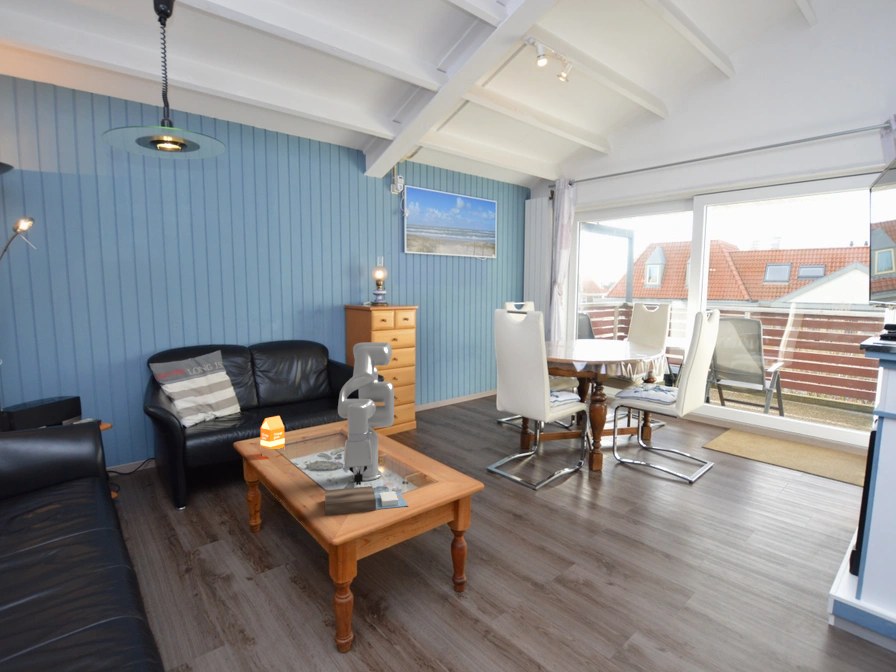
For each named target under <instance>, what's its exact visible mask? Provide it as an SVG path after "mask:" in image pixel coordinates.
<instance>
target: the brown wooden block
mask: <svg viewBox="0 0 896 672" xmlns="http://www.w3.org/2000/svg"><path fill="white" fill-rule="evenodd" d="M324 491H325V492H324V515H325V516H331V515H340V514H341V515H342V514H350V513H353V514H354V513H360V512H369V511H370V512H371V511H376V498H375V495H376V494H375V491H374V488H373V486H372V485H368V486H356V487H346V488H345V487H344V488H336V489H335V488H334V489H325V490H324Z"/></svg>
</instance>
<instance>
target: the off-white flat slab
mask: <svg viewBox="0 0 896 672" xmlns="http://www.w3.org/2000/svg"><path fill="white" fill-rule="evenodd" d="M396 493H397V492H396V491H393V490H392V491H383V492H379V494H380V500H381V504H382V507H383V506H394V505H398V498H397V495H396Z"/></svg>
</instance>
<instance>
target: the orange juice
mask: <svg viewBox="0 0 896 672" xmlns="http://www.w3.org/2000/svg"><path fill="white" fill-rule="evenodd" d="M285 441H286V439H285V425H284V424H283V420H282V419H281V416H280V415H274V416H271V417H266V418H264V420H263V422H262V425H261V426H260V447H261V446H262V447H265V448H268V449H280V448H283V447H284V448H285Z"/></svg>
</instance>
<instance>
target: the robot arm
mask: <svg viewBox="0 0 896 672" xmlns="http://www.w3.org/2000/svg"><path fill="white" fill-rule="evenodd" d="M392 349H393V348H392V345H391V343H389V342H384V341H382V342H374V341H373V342H372V341H371V342H368V341H367V342H366V341H365V342H364V341H363V342H358V343H355V344H354V345H353V348H352V355H353V358H354V363H353V373H352V377H350V378H349V380H348V381H347V380H346V382H345V384H344V385H343V386H342V388H341V390H340V391H339V396H338V397H339V398H338V405H337V414H338V415H339V417H340V418H342V419H347V438H346V439H345V443H344V456H343V457H344V459H343V460H344V461H343V462H344V465H343V470H345V471H349V472H350V473H352V478H354V479H353V482H354V483H355V484H356V486H358V485H359V486H360V485H362V484H361V483H362V482H363V481H366V482H367V481H368V482H369V481H374V480H377V479H380V478H381V477H382V475H383V474H382V471H380V470H379V437H378V434H377V432H376V430H374V428H389V427H391V426H393V424H394V422H395V388H394V385H393V383H391V381H379V370H378V369H377V366H378V367H379V366H380V367H381V366H384V367H385V366H387V365H389V364H390V361H391V359H392V355H393V350H392ZM357 390H358V398H348V397H349V396H350V395H351V394H352V393H353V392H355V391H357ZM376 403H377V404H378V403H379V404H380V403H381V404H383V405H376Z"/></svg>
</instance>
